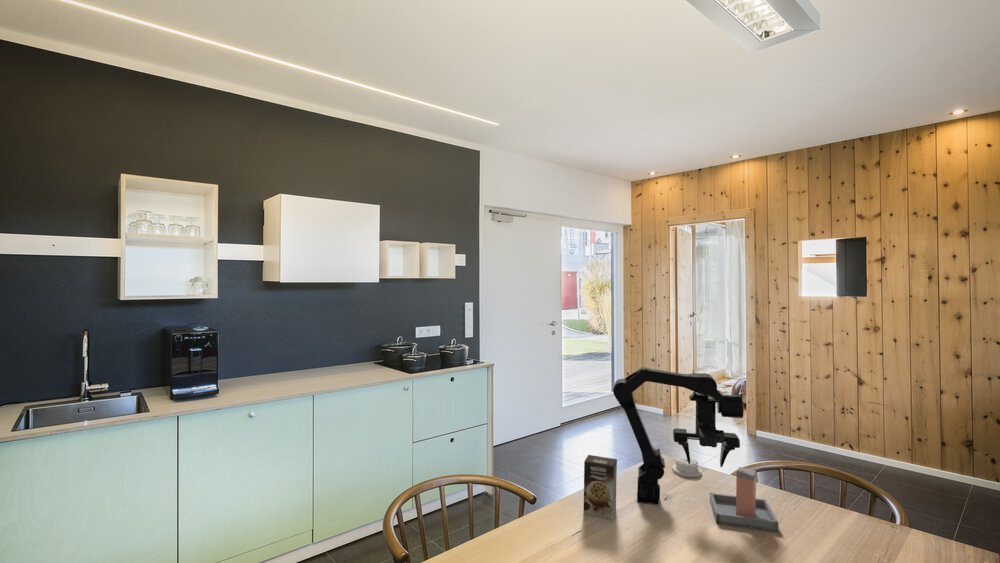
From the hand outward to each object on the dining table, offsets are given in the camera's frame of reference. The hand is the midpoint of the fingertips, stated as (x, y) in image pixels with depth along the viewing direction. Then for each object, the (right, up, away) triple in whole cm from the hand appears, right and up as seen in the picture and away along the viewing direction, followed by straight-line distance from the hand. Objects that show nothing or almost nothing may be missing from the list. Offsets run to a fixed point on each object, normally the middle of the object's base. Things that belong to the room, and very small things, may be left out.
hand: (705, 465), depth 150 cm
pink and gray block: (+10, -12, -6) cm, 17 cm away
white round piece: (+5, -13, +26) cm, 30 cm away
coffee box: (-33, -13, -4) cm, 36 cm away
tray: (+9, -13, -5) cm, 17 cm away
